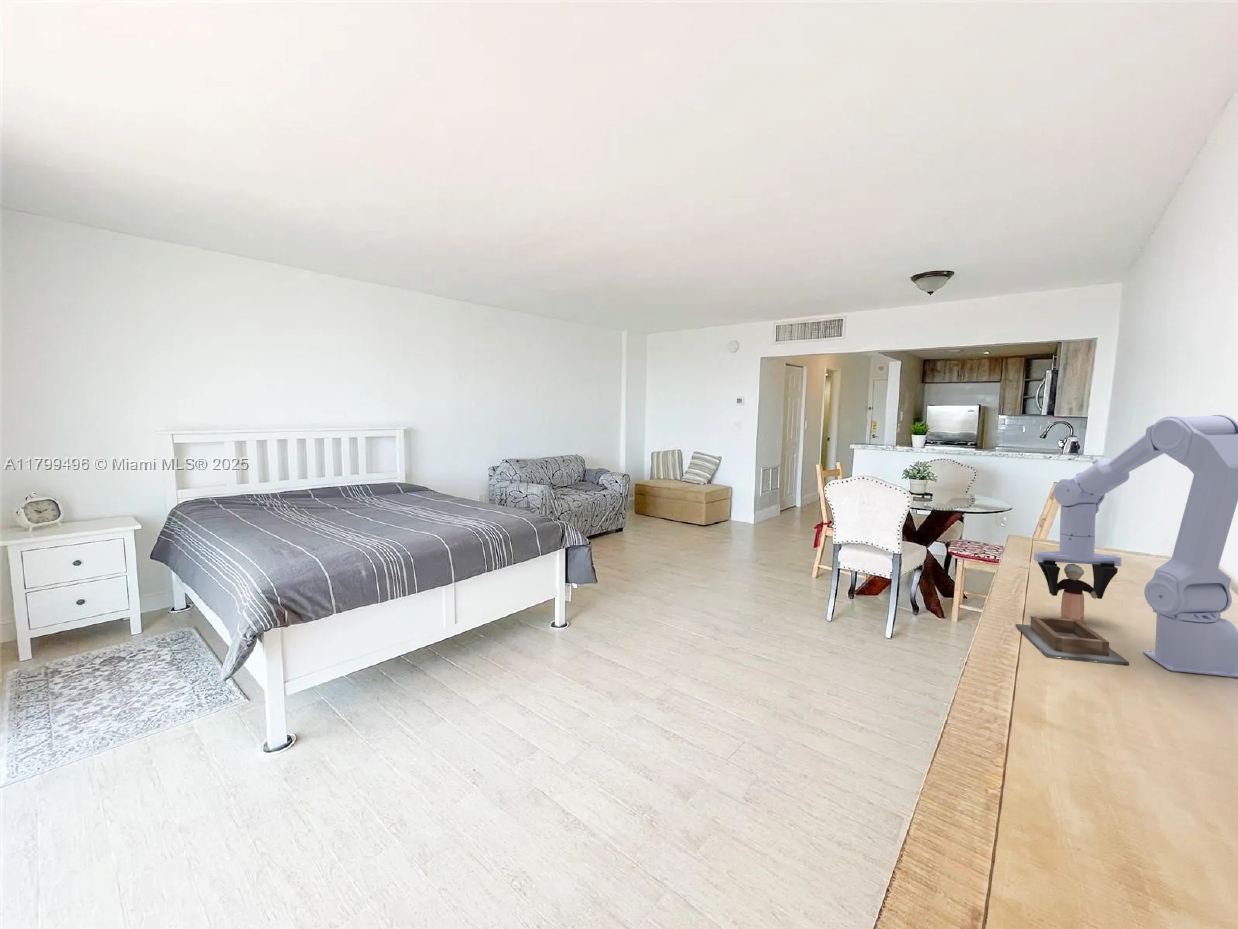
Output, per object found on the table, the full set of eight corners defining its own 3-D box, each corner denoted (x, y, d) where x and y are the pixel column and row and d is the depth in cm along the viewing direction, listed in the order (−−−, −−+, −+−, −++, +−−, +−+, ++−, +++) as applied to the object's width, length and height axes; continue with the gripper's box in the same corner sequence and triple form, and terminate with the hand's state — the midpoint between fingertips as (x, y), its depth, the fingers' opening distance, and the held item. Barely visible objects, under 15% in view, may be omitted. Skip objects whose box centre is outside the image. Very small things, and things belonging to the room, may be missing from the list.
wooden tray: (1084, 632, 108) (1085, 617, 108) (1128, 665, 93) (1129, 648, 93) (1015, 626, 112) (1015, 612, 112) (1046, 657, 97) (1047, 640, 97)
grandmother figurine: (1056, 622, 114) (1055, 565, 113) (1049, 616, 118) (1048, 561, 117) (1101, 625, 111) (1100, 566, 110) (1093, 619, 115) (1092, 562, 114)
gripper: (1109, 532, 114) (1107, 593, 115) (1029, 529, 119) (1027, 587, 120) (1127, 538, 108) (1125, 603, 109) (1042, 535, 113) (1040, 597, 114)
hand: (1075, 596), depth 114 cm, fingers closed on grandmother figurine, 7 cm apart
